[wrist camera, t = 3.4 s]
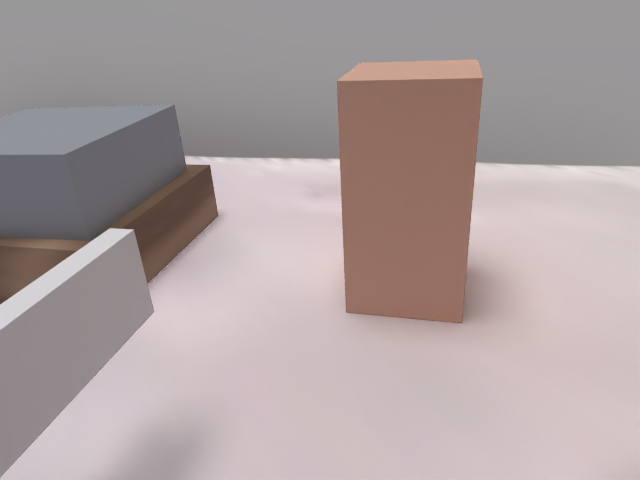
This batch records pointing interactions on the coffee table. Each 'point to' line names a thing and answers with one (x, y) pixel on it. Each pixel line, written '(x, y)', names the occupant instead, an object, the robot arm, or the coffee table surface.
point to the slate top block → (83, 167)
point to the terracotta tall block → (408, 185)
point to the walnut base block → (146, 220)
